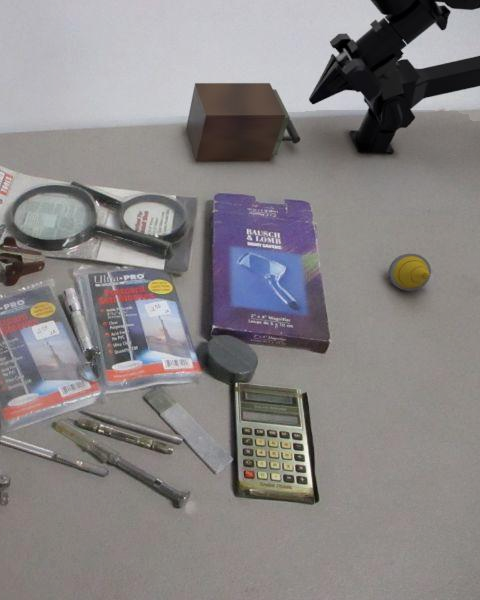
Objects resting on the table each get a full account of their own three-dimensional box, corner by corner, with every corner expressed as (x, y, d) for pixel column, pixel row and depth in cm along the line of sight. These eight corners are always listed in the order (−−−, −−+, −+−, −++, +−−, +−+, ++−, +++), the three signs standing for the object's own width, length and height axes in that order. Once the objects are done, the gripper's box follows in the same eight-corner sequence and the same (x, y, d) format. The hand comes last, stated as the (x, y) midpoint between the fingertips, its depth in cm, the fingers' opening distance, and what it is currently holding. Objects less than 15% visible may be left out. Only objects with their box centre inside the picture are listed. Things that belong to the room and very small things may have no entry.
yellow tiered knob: (425, 280, 89) (457, 285, 79) (390, 294, 90) (416, 300, 80) (412, 247, 88) (441, 248, 79) (376, 261, 89) (401, 264, 80)
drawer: (285, 126, 111) (298, 89, 105) (299, 155, 105) (313, 117, 99) (198, 127, 110) (207, 89, 104) (208, 155, 104) (217, 117, 98)
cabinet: (256, 128, 112) (269, 82, 104) (269, 161, 105) (285, 114, 98) (185, 129, 111) (194, 82, 104) (195, 162, 104) (205, 115, 97)
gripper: (441, 87, 89) (348, 156, 97) (410, 50, 103) (331, 113, 112) (397, 33, 85) (305, 110, 94) (372, 3, 100) (293, 72, 108)
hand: (310, 102), depth 102 cm, fingers closed
